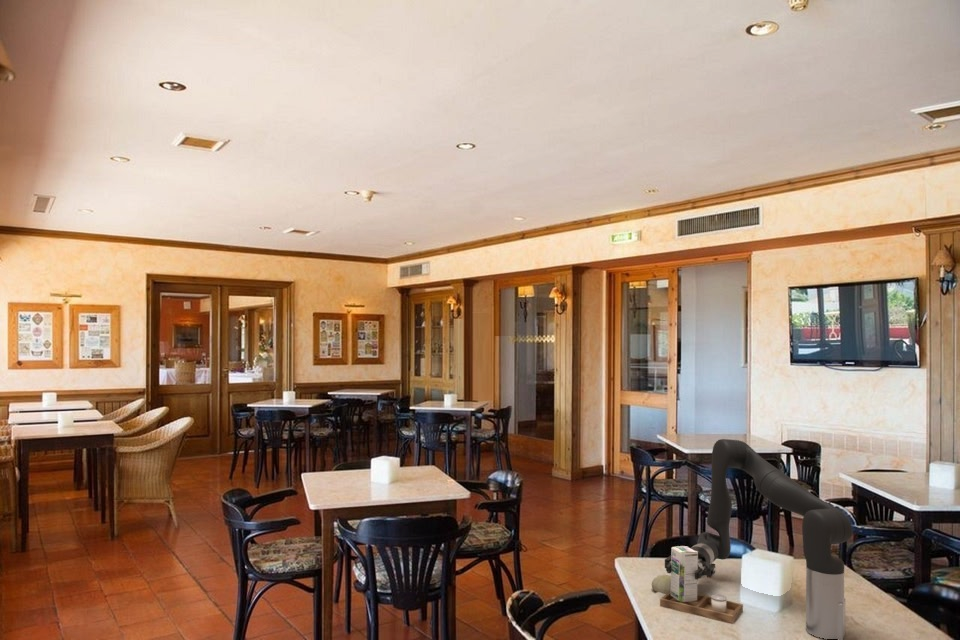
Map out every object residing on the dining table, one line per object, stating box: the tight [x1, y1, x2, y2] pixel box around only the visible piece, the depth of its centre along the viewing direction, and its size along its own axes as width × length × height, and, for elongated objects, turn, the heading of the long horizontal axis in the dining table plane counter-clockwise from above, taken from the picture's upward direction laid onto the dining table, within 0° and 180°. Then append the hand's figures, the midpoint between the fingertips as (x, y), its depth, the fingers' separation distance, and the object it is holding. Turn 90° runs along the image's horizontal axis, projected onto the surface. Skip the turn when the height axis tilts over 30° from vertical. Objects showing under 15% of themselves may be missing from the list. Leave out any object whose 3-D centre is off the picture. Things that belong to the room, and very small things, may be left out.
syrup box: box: [670, 545, 698, 603], centre depth 198 cm, size 6×6×14 cm
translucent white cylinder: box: [710, 593, 728, 614], centre depth 192 cm, size 4×4×4 cm
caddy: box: [659, 590, 744, 625], centre depth 195 cm, size 21×11×3 cm, turn 55°
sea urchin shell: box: [651, 574, 671, 594], centre depth 211 cm, size 9×8×8 cm
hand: (682, 572), depth 197 cm, fingers closed on syrup box, 7 cm apart
